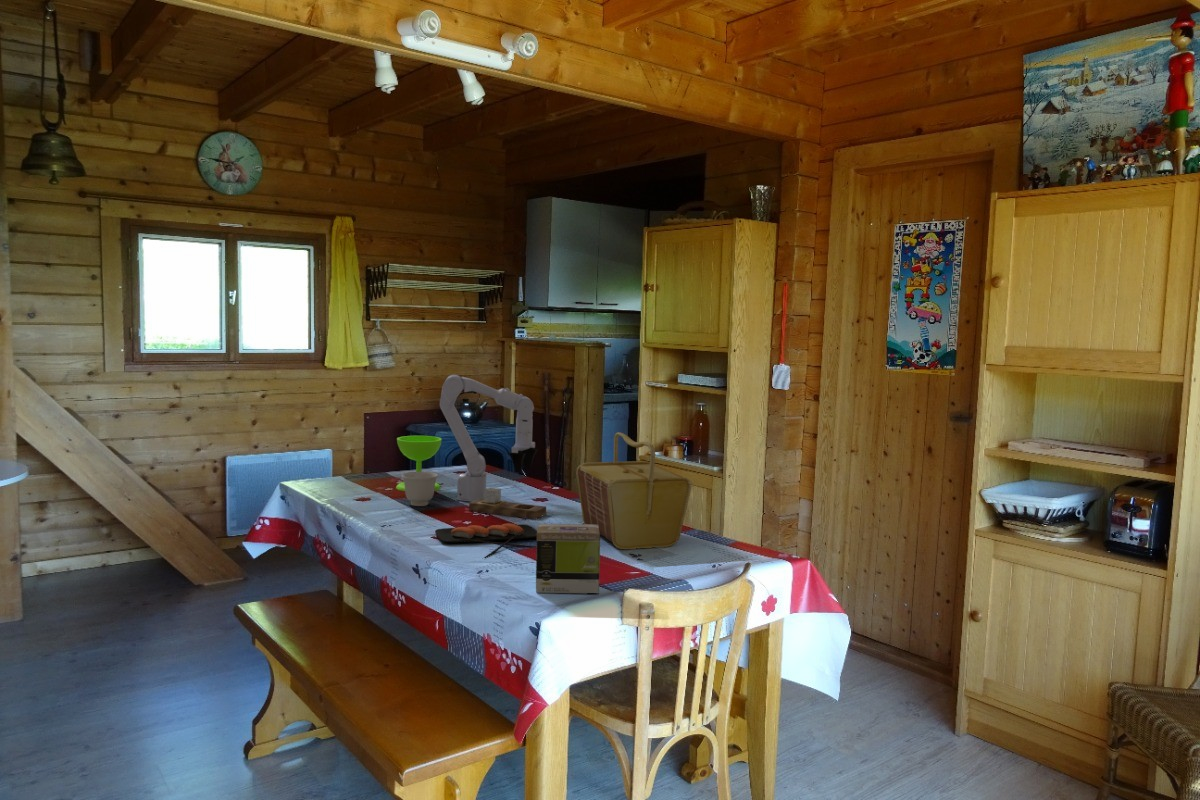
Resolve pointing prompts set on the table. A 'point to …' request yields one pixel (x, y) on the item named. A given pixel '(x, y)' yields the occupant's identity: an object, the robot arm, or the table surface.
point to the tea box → (567, 558)
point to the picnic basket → (633, 500)
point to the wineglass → (418, 451)
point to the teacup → (419, 487)
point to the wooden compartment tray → (508, 509)
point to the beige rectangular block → (492, 496)
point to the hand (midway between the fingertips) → (522, 470)
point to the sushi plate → (487, 534)
